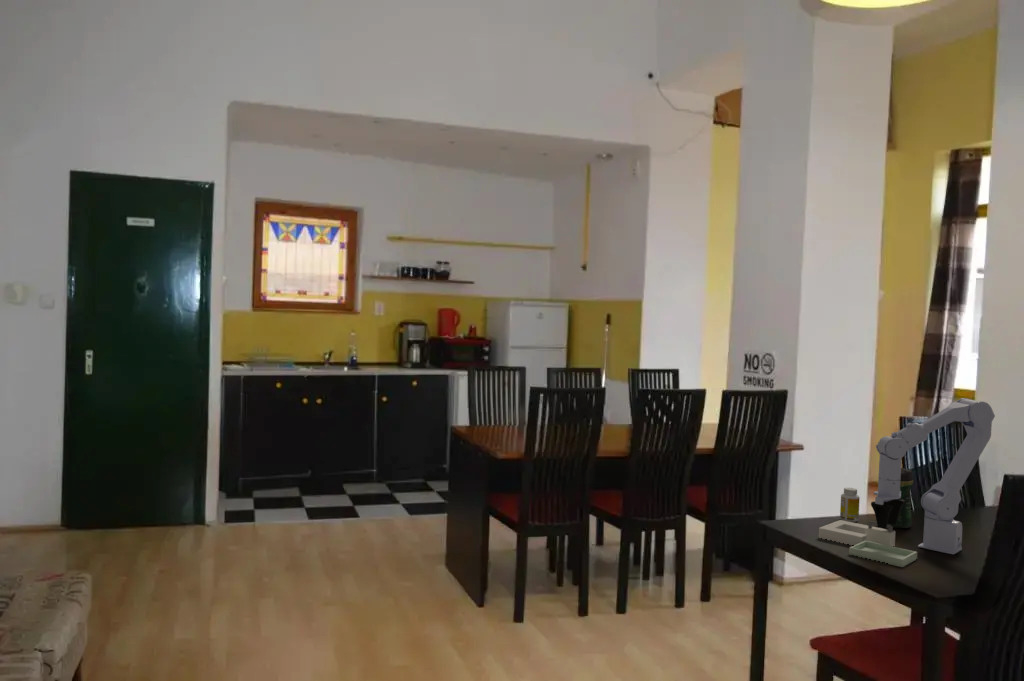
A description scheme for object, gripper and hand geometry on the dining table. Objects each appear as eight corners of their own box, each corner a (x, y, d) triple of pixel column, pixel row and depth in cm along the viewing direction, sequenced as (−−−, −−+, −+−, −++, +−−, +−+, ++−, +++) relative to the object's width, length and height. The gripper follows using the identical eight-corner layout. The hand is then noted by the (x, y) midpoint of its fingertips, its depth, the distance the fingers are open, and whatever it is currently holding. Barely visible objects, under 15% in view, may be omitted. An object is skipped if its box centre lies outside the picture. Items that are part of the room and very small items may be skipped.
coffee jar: (914, 526, 255) (917, 468, 255) (904, 530, 250) (907, 471, 249) (883, 520, 262) (885, 463, 262) (873, 524, 257) (876, 466, 256)
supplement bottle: (861, 520, 260) (863, 489, 260) (853, 523, 257) (854, 491, 256) (845, 517, 265) (846, 486, 264) (836, 519, 261) (838, 488, 261)
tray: (916, 559, 219) (917, 551, 219) (902, 567, 211) (902, 559, 211) (864, 547, 229) (865, 540, 229) (848, 554, 221) (849, 547, 221)
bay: (881, 538, 240) (881, 528, 239) (861, 547, 229) (861, 537, 229) (839, 529, 248) (840, 519, 248) (818, 537, 238) (819, 527, 237)
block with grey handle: (894, 546, 232) (895, 524, 231) (889, 549, 229) (890, 526, 228) (869, 541, 236) (870, 519, 236) (864, 543, 234) (865, 521, 233)
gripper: (884, 473, 239) (882, 519, 239) (865, 479, 228) (862, 527, 229) (909, 477, 234) (907, 524, 234) (891, 483, 223) (888, 532, 224)
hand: (887, 525), depth 231 cm, fingers open, 7 cm apart
